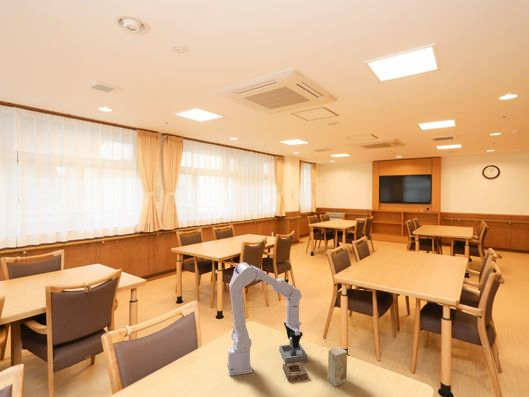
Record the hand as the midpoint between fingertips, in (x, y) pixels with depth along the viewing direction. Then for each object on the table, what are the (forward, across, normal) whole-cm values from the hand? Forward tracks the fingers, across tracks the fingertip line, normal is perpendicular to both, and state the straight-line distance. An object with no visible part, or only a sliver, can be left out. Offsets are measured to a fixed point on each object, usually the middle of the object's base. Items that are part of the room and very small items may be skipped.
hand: (292, 342), depth 128 cm
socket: (+6, -12, +3) cm, 14 cm away
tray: (+6, 0, 0) cm, 6 cm away
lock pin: (+5, 0, 0) cm, 5 cm away
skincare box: (+6, -20, -12) cm, 24 cm away
